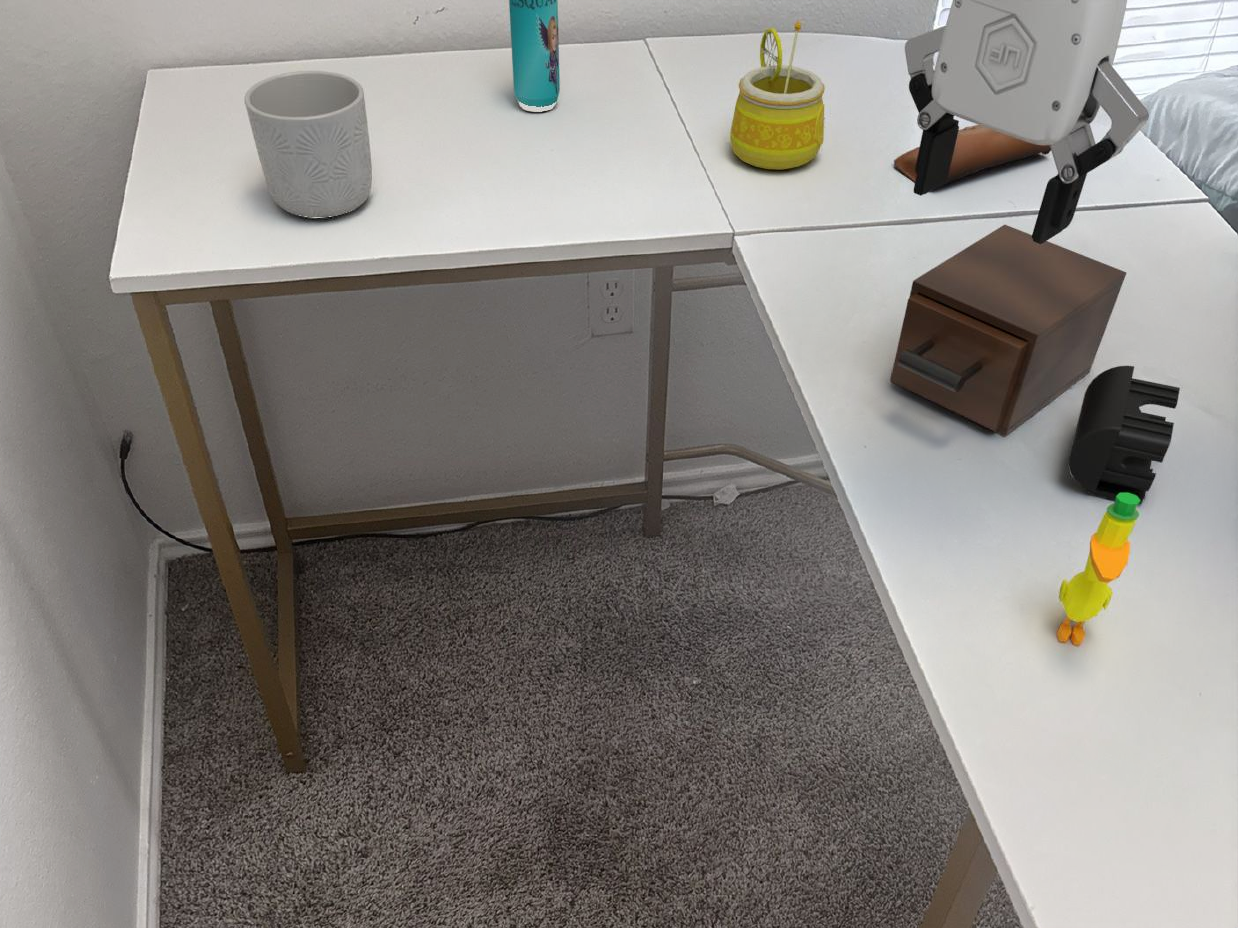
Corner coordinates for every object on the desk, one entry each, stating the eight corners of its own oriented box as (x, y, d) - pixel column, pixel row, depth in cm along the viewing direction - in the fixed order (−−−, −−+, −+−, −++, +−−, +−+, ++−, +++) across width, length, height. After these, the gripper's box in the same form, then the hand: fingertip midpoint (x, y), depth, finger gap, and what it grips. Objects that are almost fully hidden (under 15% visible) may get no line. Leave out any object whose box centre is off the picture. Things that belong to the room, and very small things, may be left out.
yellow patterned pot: (809, 182, 132) (826, 63, 122) (718, 168, 134) (727, 50, 124) (832, 137, 139) (850, 21, 129) (745, 124, 141) (756, 10, 131)
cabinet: (1005, 437, 102) (1038, 335, 94) (890, 381, 107) (912, 280, 100) (1089, 372, 108) (1127, 272, 101) (977, 323, 114) (1004, 223, 106)
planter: (292, 172, 133) (270, 65, 124) (393, 183, 131) (379, 75, 122) (251, 222, 125) (225, 112, 117) (358, 234, 124) (340, 123, 115)
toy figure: (1092, 671, 85) (1155, 540, 75) (1043, 662, 85) (1099, 531, 76) (1094, 612, 88) (1154, 480, 79) (1047, 603, 89) (1101, 471, 79)
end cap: (1071, 427, 103) (1098, 357, 98) (1152, 445, 101) (1184, 374, 96) (1055, 491, 97) (1082, 420, 92) (1140, 510, 96) (1173, 439, 91)
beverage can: (547, 118, 142) (542, -28, 130) (506, 110, 143) (498, -35, 131) (567, 101, 145) (564, -43, 133) (527, 93, 146) (521, -50, 134)
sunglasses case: (1002, 127, 139) (1036, 84, 133) (1028, 178, 139) (1063, 137, 133) (887, 161, 134) (917, 118, 127) (914, 214, 134) (945, 173, 127)
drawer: (967, 451, 99) (992, 367, 93) (862, 398, 104) (879, 316, 98) (1074, 371, 107) (1104, 289, 101) (971, 325, 112) (993, 244, 105)
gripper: (904, -119, 67) (854, 188, 81) (1171, -48, 60) (1066, 276, 74) (978, -144, 70) (917, 155, 84) (1240, -80, 63) (1127, 236, 77)
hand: (986, 211), depth 79 cm, fingers open, 9 cm apart
